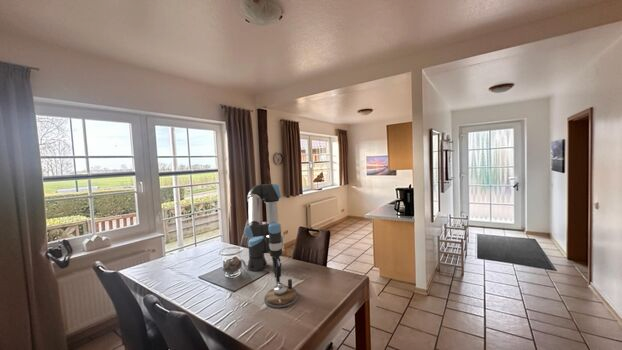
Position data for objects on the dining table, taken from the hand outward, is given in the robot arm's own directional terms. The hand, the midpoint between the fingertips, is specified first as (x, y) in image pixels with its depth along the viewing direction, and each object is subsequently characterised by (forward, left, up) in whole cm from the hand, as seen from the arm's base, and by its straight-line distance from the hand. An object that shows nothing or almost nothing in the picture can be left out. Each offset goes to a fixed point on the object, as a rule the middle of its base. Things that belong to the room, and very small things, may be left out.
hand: (277, 286), depth 154 cm
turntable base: (+7, 0, -4) cm, 8 cm away
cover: (+5, 0, -2) cm, 5 cm away
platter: (+7, 0, -3) cm, 7 cm away
